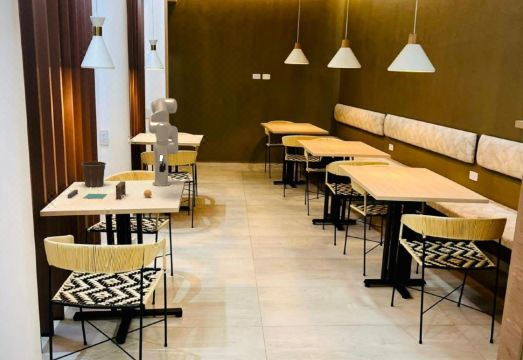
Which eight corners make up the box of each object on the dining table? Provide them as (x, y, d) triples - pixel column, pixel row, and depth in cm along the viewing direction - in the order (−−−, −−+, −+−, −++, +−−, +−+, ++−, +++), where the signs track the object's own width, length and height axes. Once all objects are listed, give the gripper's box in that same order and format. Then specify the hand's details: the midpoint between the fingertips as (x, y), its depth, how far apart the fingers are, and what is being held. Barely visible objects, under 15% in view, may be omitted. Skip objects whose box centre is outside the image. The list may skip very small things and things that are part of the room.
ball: (144, 196, 317) (144, 188, 316) (152, 196, 317) (152, 189, 316) (143, 198, 312) (143, 190, 311) (151, 198, 312) (151, 190, 311)
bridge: (115, 199, 307) (115, 185, 305) (120, 194, 320) (120, 181, 319) (120, 199, 307) (120, 185, 305) (125, 194, 321) (125, 181, 319)
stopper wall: (74, 193, 318) (74, 189, 318) (78, 193, 319) (77, 189, 318) (67, 198, 305) (67, 194, 304) (71, 198, 305) (70, 194, 304)
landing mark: (88, 194, 318) (88, 193, 318) (107, 194, 319) (107, 194, 319) (83, 198, 306) (83, 197, 306) (102, 198, 307) (102, 198, 307)
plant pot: (105, 188, 336) (104, 165, 333) (80, 188, 333) (79, 165, 330) (107, 183, 352) (107, 161, 349) (83, 183, 349) (83, 161, 345)
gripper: (158, 141, 317) (158, 168, 320) (154, 144, 300) (154, 173, 303) (170, 141, 317) (170, 169, 321) (166, 144, 300) (166, 173, 304)
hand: (162, 170), depth 312 cm, fingers open, 5 cm apart
